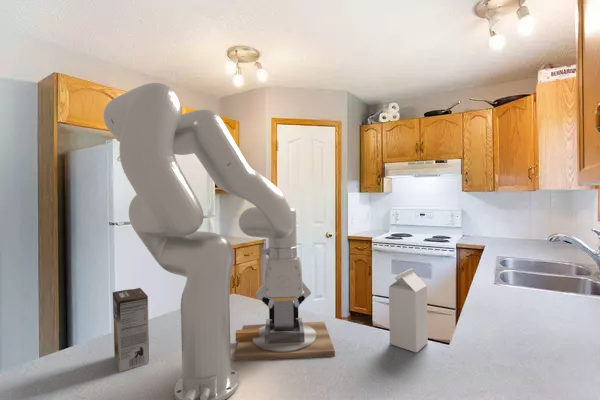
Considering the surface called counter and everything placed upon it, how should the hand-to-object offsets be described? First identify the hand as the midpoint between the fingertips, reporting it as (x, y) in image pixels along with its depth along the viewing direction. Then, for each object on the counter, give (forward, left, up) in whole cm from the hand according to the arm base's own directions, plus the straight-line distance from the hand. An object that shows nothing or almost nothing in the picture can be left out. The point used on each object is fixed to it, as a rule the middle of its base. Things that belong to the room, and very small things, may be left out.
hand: (283, 320), depth 83 cm
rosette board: (0, 0, -6) cm, 6 cm away
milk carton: (-5, -32, -6) cm, 33 cm away
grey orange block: (0, 0, -2) cm, 2 cm away
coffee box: (-6, +37, -6) cm, 38 cm away
